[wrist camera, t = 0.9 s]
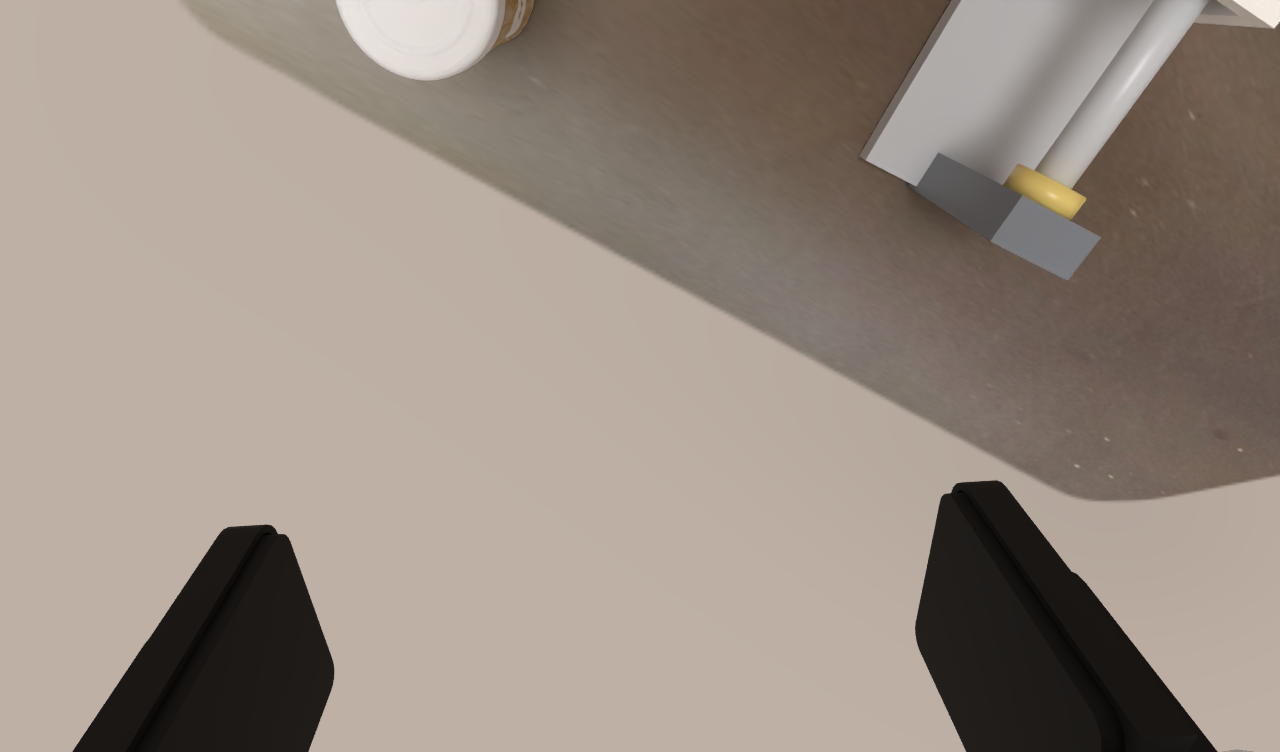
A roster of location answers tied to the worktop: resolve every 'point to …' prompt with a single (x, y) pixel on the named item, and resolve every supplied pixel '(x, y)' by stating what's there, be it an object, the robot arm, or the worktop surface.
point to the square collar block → (1241, 13)
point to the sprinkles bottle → (432, 32)
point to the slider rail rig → (1023, 112)
